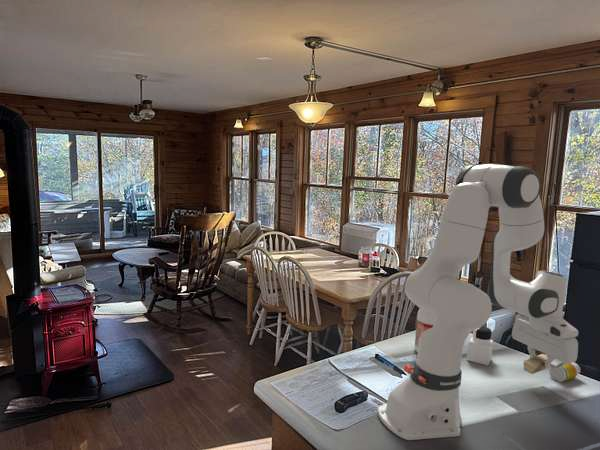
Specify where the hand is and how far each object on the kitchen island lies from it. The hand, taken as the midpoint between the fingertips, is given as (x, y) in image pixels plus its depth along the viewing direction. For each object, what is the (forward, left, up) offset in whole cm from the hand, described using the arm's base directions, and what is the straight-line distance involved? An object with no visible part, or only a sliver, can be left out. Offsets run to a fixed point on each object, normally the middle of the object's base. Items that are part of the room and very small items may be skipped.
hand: (539, 363), depth 131 cm
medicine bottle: (-4, +20, -8) cm, 22 cm away
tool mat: (-9, -6, -7) cm, 13 cm away
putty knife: (+2, 0, -1) cm, 2 cm away
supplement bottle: (+9, 0, -5) cm, 10 cm away
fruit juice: (-18, +31, -8) cm, 37 cm away
